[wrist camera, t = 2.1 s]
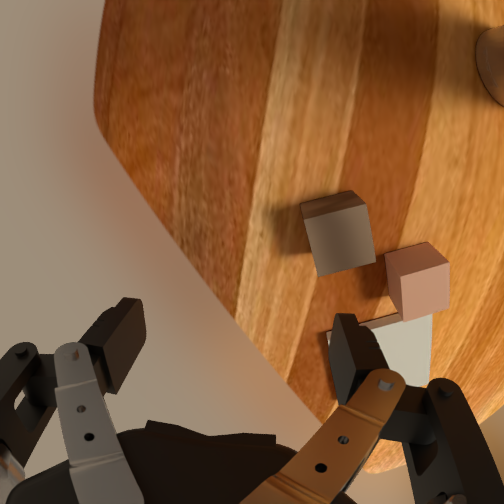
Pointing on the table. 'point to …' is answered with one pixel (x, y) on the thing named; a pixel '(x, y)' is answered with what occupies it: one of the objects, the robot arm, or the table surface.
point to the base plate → (404, 345)
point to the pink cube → (418, 281)
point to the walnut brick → (338, 232)
